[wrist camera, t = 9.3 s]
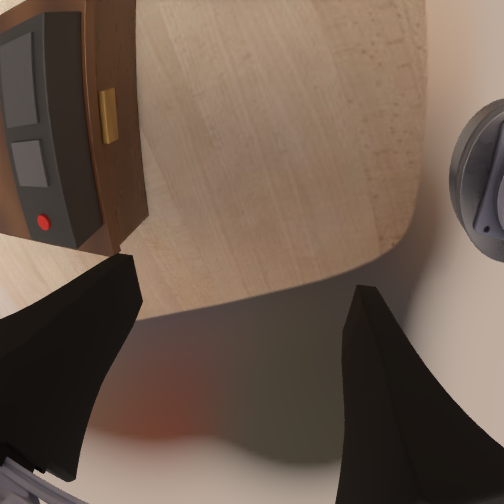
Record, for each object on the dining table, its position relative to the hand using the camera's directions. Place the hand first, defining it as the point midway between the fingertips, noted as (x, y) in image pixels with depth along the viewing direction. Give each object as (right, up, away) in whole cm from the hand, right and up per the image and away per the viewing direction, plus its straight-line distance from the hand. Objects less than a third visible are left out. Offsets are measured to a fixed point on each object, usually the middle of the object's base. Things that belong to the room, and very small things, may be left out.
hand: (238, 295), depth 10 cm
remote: (-10, +8, +4) cm, 13 cm away
